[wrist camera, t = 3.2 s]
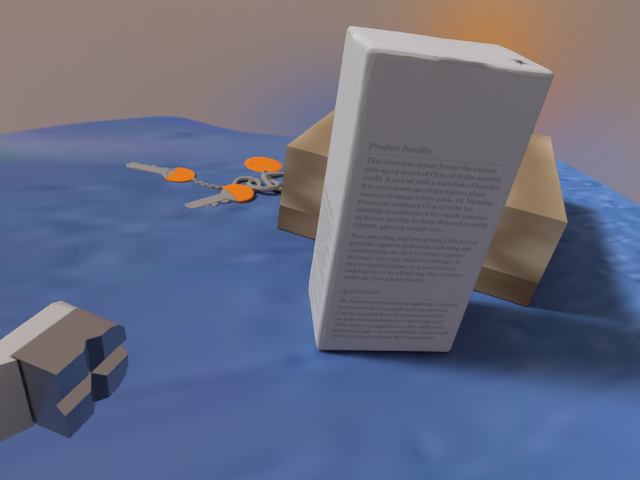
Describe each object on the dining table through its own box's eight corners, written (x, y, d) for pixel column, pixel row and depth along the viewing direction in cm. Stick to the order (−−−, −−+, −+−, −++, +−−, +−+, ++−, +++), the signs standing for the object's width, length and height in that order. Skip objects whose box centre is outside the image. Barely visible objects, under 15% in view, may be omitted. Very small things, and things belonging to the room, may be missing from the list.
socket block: (523, 199, 36) (550, 136, 34) (527, 306, 25) (567, 222, 22) (347, 152, 39) (358, 90, 37) (277, 227, 28) (286, 145, 25)
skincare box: (421, 293, 24) (503, 44, 18) (450, 356, 21) (563, 72, 15) (303, 288, 23) (345, 21, 17) (311, 352, 20) (369, 46, 14)
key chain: (299, 158, 38) (300, 147, 37) (340, 202, 32) (342, 191, 32) (124, 164, 33) (123, 153, 32) (138, 219, 27) (137, 206, 27)
